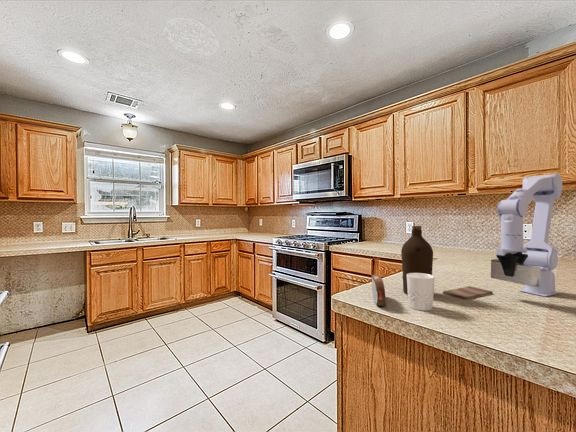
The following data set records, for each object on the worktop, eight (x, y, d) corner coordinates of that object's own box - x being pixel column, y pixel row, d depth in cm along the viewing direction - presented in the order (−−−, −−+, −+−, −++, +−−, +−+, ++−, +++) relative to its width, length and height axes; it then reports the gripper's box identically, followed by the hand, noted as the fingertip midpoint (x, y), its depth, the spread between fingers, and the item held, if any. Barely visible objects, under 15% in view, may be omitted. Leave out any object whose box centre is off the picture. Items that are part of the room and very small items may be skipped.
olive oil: (440, 296, 94) (439, 226, 94) (413, 298, 92) (412, 226, 92) (420, 288, 104) (420, 225, 104) (395, 290, 102) (395, 225, 102)
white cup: (432, 304, 86) (431, 273, 86) (437, 312, 78) (436, 279, 78) (405, 302, 88) (405, 272, 88) (408, 310, 81) (407, 277, 81)
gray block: (496, 276, 95) (496, 258, 94) (542, 286, 83) (543, 265, 83) (490, 277, 93) (491, 259, 93) (536, 287, 82) (537, 266, 81)
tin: (386, 309, 81) (386, 282, 81) (375, 309, 82) (375, 281, 82) (379, 295, 96) (379, 272, 96) (370, 294, 97) (370, 271, 97)
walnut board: (469, 288, 104) (469, 286, 104) (492, 293, 97) (492, 291, 97) (442, 293, 97) (442, 291, 97) (465, 299, 90) (465, 297, 90)
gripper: (514, 236, 82) (514, 280, 82) (538, 234, 88) (538, 275, 88) (489, 235, 89) (489, 275, 89) (512, 233, 95) (513, 271, 95)
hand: (512, 275), depth 89 cm, fingers closed on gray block, 3 cm apart
